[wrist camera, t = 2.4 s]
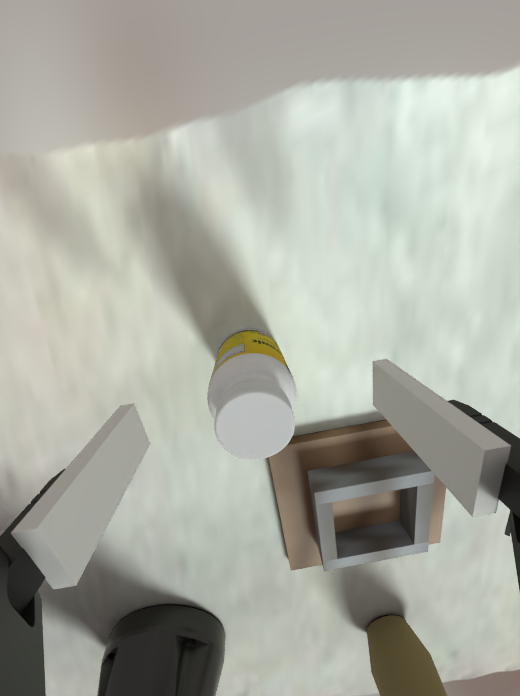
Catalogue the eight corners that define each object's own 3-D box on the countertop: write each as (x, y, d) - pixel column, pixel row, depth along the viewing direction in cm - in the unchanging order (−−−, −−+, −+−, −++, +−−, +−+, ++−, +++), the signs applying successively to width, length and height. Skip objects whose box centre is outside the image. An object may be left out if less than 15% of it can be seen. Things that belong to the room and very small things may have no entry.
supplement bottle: (292, 362, 22) (330, 435, 12) (243, 396, 22) (244, 489, 13) (255, 313, 20) (267, 355, 11) (204, 352, 21) (174, 422, 12)
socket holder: (289, 560, 30) (295, 597, 27) (266, 441, 24) (269, 469, 21) (433, 533, 30) (457, 566, 27) (445, 408, 24) (477, 431, 21)
